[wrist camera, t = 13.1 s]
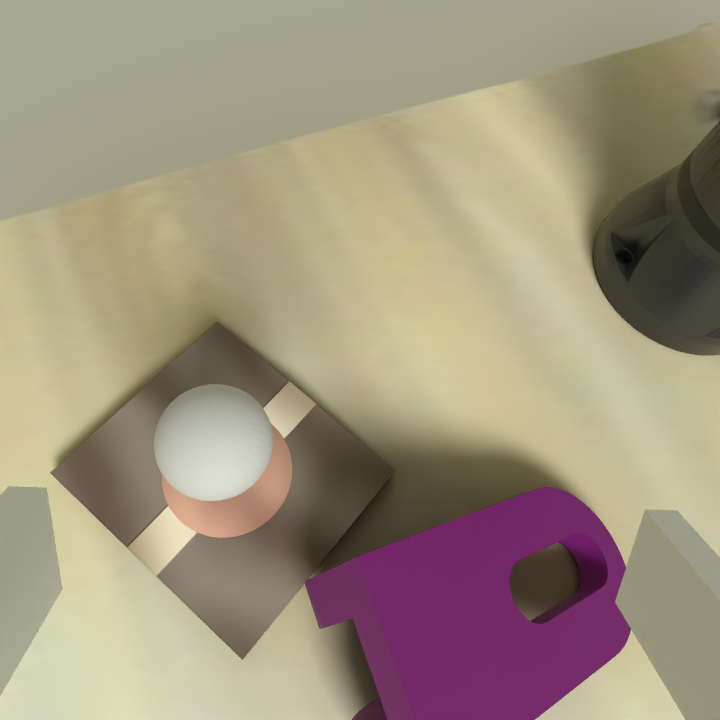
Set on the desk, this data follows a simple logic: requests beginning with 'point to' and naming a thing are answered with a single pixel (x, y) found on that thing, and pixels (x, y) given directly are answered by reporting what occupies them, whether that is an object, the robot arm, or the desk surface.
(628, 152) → the desk surface
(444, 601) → the mounting bracket
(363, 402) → the desk surface
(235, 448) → the light bulb
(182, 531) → the board
